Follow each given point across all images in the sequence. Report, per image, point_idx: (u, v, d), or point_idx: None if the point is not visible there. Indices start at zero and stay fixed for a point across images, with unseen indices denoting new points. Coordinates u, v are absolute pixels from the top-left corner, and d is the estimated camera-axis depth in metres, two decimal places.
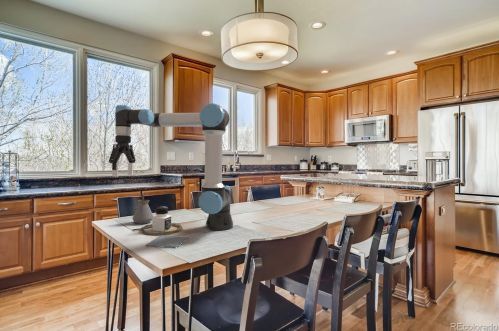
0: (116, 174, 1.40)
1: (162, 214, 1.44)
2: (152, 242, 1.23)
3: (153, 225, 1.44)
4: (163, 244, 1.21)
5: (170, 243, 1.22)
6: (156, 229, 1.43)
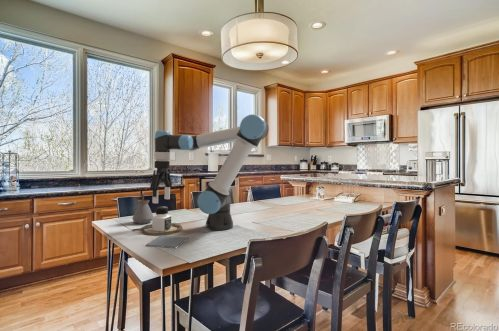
0: (156, 201, 1.39)
1: (162, 214, 1.44)
2: (152, 242, 1.23)
3: (153, 225, 1.44)
4: (163, 244, 1.21)
5: (170, 243, 1.22)
6: (156, 229, 1.43)
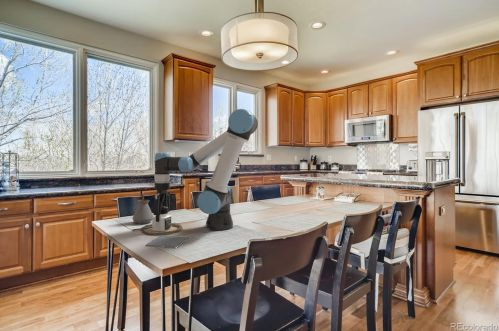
0: (159, 225, 1.42)
1: (162, 214, 1.44)
2: (152, 242, 1.23)
3: (153, 225, 1.44)
4: (163, 244, 1.21)
5: (170, 243, 1.22)
6: (156, 229, 1.43)
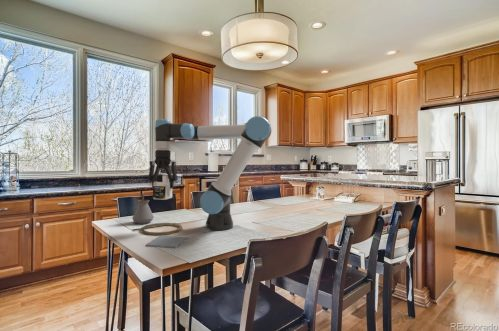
0: None
1: None
2: (152, 242, 1.23)
3: None
4: (163, 244, 1.21)
5: (170, 243, 1.22)
6: None
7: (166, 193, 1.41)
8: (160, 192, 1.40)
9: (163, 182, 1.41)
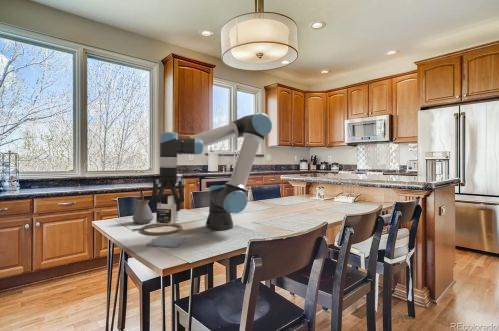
0: None
1: None
2: (152, 242, 1.23)
3: None
4: (163, 244, 1.21)
5: (170, 243, 1.22)
6: None
7: (172, 217, 1.22)
8: (165, 216, 1.22)
9: (168, 204, 1.23)
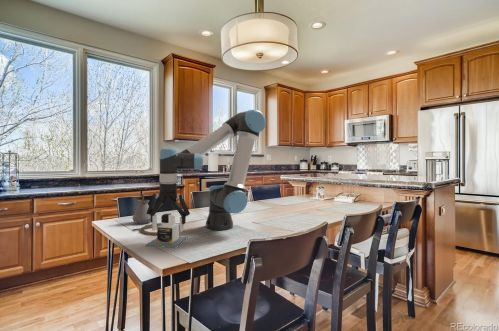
0: None
1: (161, 222, 1.25)
2: (152, 242, 1.23)
3: None
4: (163, 244, 1.21)
5: (170, 243, 1.22)
6: None
7: (173, 236, 1.23)
8: (166, 235, 1.22)
9: (169, 223, 1.23)
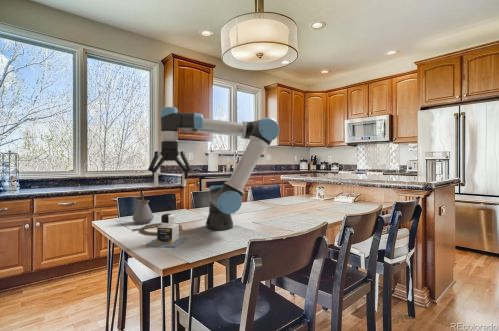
0: None
1: (161, 222, 1.25)
2: (152, 242, 1.23)
3: None
4: (163, 244, 1.21)
5: (170, 243, 1.22)
6: None
7: (173, 236, 1.23)
8: (166, 235, 1.22)
9: (169, 223, 1.23)
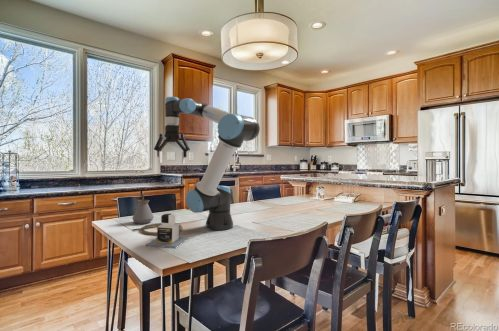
0: None
1: (161, 222, 1.25)
2: (152, 242, 1.23)
3: None
4: (163, 244, 1.21)
5: (170, 243, 1.22)
6: None
7: (173, 236, 1.23)
8: (166, 235, 1.22)
9: (169, 223, 1.23)
